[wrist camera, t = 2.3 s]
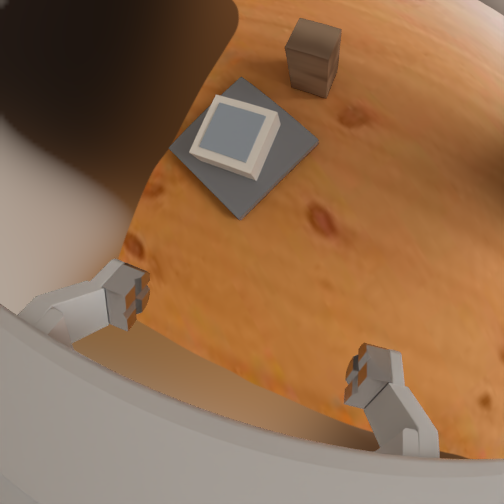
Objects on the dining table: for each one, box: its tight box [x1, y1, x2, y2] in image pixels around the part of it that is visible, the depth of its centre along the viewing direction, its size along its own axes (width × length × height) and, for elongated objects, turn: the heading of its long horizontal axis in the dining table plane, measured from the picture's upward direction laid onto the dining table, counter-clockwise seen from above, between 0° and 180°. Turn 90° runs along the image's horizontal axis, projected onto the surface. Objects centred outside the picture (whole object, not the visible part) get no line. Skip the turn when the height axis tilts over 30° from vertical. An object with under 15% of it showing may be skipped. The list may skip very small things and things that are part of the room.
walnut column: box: [285, 18, 342, 98], centre depth 34 cm, size 5×5×10 cm
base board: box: [169, 77, 319, 220], centre depth 38 cm, size 14×14×6 cm
